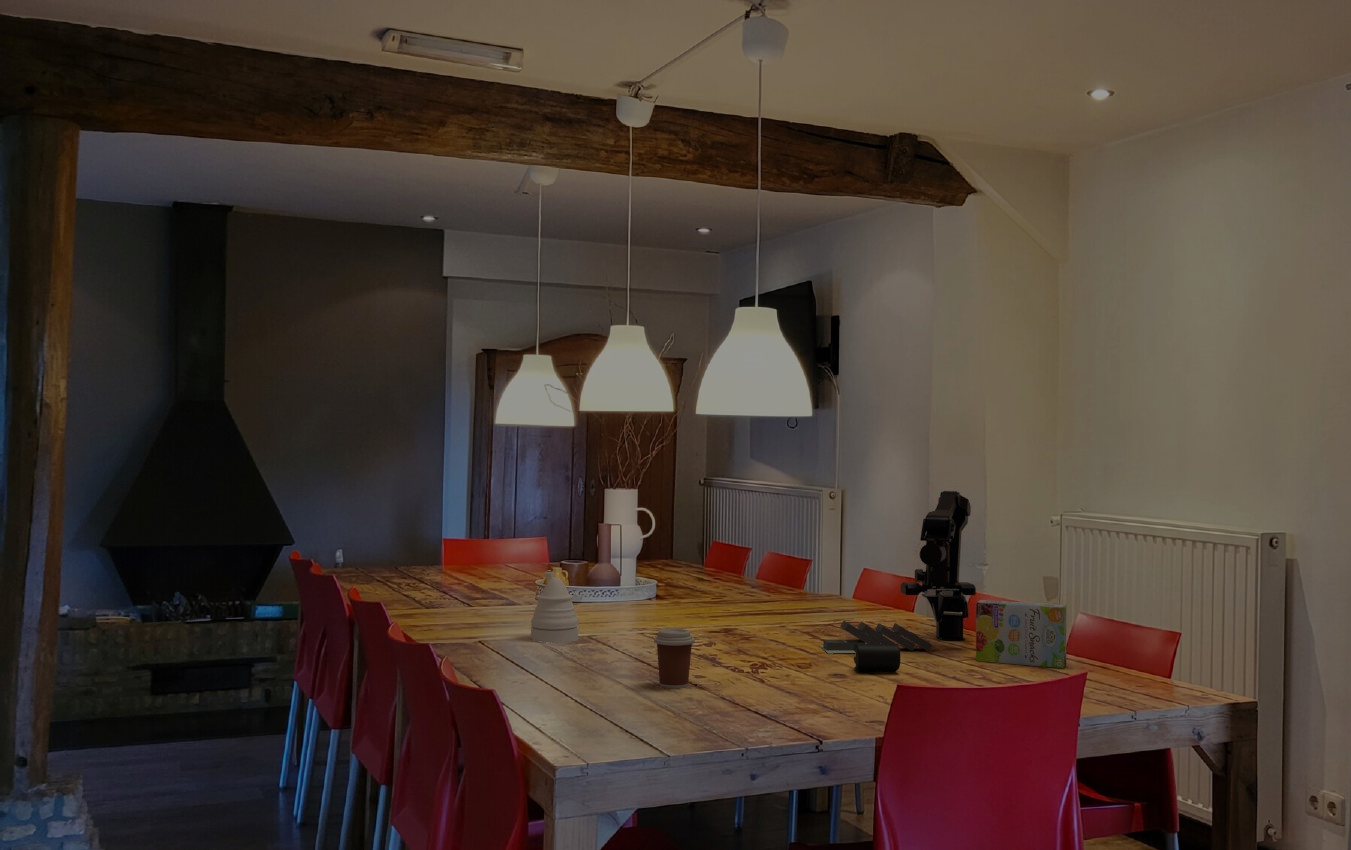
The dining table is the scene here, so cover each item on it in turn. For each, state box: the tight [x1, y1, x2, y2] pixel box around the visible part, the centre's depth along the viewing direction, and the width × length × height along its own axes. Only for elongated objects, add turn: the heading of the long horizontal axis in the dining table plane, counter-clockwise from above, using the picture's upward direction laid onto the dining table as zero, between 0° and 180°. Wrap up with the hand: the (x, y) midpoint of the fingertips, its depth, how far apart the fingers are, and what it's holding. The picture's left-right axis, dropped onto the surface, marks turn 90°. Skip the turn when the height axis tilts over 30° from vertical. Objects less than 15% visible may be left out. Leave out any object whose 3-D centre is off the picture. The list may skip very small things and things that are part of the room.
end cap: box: [853, 643, 901, 673], centre depth 267 cm, size 10×7×7 cm
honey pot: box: [530, 571, 579, 644], centre depth 308 cm, size 13×13×18 cm
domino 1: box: [840, 620, 881, 644], centre depth 296 cm, size 2×5×10 cm
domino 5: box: [822, 638, 866, 651], centre depth 296 cm, size 2×5×10 cm
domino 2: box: [856, 621, 896, 644], centre depth 297 cm, size 2×5×10 cm
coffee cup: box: [653, 627, 696, 689], centre depth 250 cm, size 9×9×12 cm
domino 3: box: [874, 623, 917, 652], centre depth 297 cm, size 2×5×10 cm
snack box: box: [975, 599, 1067, 669], centre depth 280 cm, size 21×6×15 cm, turn 65°
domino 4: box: [890, 622, 933, 652], centre depth 297 cm, size 2×5×10 cm
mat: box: [818, 644, 856, 655], centre depth 296 cm, size 9×12×1 cm
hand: (937, 621), depth 298 cm, fingers closed
